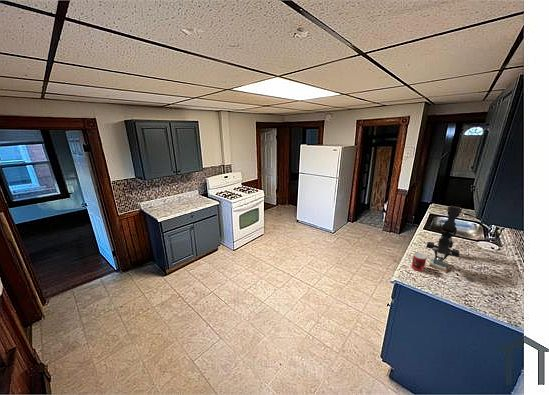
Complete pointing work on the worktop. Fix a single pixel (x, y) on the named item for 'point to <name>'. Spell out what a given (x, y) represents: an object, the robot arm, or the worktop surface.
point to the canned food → (418, 261)
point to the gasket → (469, 279)
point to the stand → (442, 268)
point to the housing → (438, 261)
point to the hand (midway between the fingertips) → (439, 259)
